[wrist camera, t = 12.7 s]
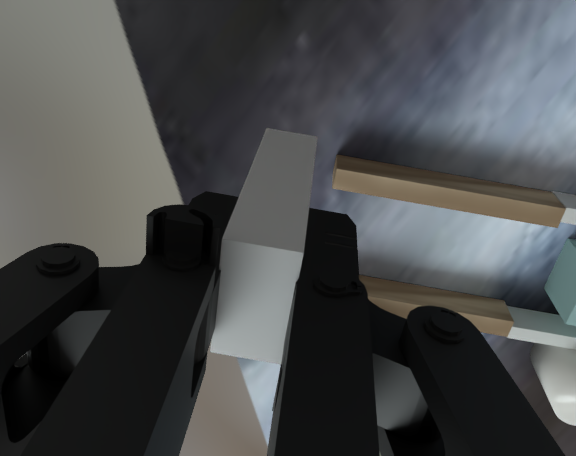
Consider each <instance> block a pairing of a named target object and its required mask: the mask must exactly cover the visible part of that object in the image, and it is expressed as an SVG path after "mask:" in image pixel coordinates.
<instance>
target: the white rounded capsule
mask: <svg viewBox="0 0 576 456" xmlns="http://www.w3.org/2000/svg"><path fill="white" fill-rule="evenodd" d="M530 359H531V362H532V364H533V367H534V369H535V371H536V373H537V375H538V377H539V380H540V382H541V384H542V386H543V388H544V390H545V393H546V395H547V397H548V399H549V401H550V403H551V406H552V408H553V410H554V412H555V414H556V415H557V417H558V418H559V419H561V420H562V421H564V422H566V423H568V424H571V425H575V426H576V350H574V349H568V348H563V347H557V346H551V345H546V344H540V343H534V345H533V346H532V349H531V352H530Z"/></svg>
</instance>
